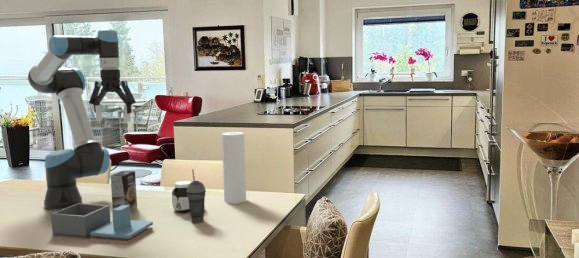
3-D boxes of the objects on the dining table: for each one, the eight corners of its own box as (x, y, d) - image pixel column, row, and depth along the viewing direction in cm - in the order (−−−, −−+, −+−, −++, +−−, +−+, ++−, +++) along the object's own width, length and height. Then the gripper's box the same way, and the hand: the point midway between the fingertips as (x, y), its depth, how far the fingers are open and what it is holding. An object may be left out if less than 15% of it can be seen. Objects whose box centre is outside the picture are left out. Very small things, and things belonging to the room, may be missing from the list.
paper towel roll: (220, 202, 221) (217, 133, 217) (230, 197, 229) (228, 130, 226) (239, 204, 217) (237, 134, 213) (249, 198, 226) (247, 131, 222)
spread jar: (169, 210, 211) (168, 182, 209) (192, 204, 219) (190, 177, 218) (187, 216, 203) (185, 187, 201) (209, 209, 211) (208, 181, 210)
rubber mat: (91, 240, 177) (91, 238, 177) (119, 226, 192) (119, 224, 192) (126, 243, 173) (126, 242, 173) (152, 228, 188) (152, 227, 188)
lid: (90, 238, 177) (88, 212, 176) (116, 224, 192) (115, 200, 190) (129, 241, 173) (127, 215, 172) (153, 227, 187) (151, 203, 186)
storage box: (52, 235, 183) (50, 213, 181) (79, 223, 196) (77, 203, 195) (86, 238, 178) (84, 216, 177) (110, 226, 192) (109, 205, 191)
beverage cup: (198, 225, 191) (195, 172, 188) (183, 222, 195) (181, 170, 192) (211, 219, 197) (208, 168, 194) (196, 217, 201) (194, 166, 198)
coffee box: (127, 215, 206) (124, 175, 203) (112, 214, 207) (109, 175, 205) (138, 208, 214) (135, 170, 212) (123, 208, 216) (121, 170, 214)
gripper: (77, 69, 207) (81, 122, 210) (131, 68, 200) (134, 122, 203) (89, 69, 214) (93, 119, 217) (142, 68, 207) (145, 120, 210)
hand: (113, 121), depth 210 cm, fingers open, 13 cm apart
